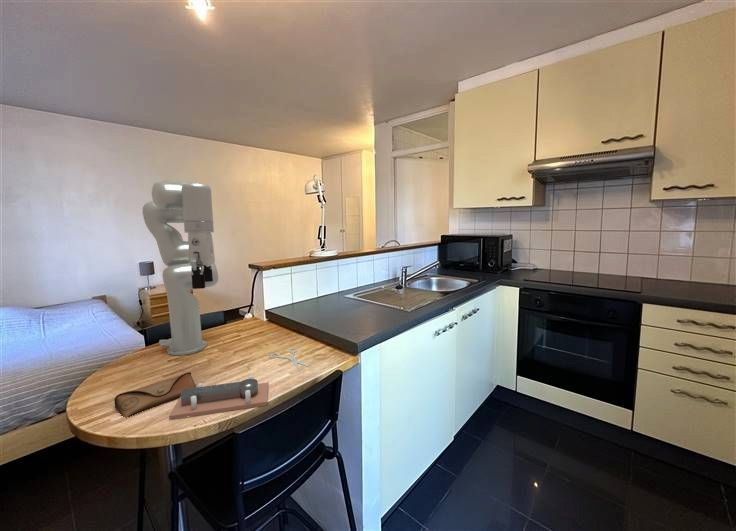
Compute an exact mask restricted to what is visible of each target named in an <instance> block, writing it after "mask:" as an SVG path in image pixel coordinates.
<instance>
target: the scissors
mask: <svg viewBox="0 0 736 531" xmlns="http://www.w3.org/2000/svg"><path fill="white" fill-rule="evenodd" d="M291 349H292V350H294V351H292V350H291ZM289 352H290V354H292V355H291V356H290V357H288V356H287V357H286V356H281V353H272V354H269V353H265V354H264V356H267V355H268V357H269V358H270V357H271V358H270V359H282V360H283V359H286V360H289V361H291V362H292V363H293V364H294V366H295V367H296V368H297V370H299V371H300V372H302V370H301V368H300V366H299V364H300V365H303V366H306V367H308V368H311V366H309V365H307V364H306V363H304V362H302V361H299V360H298V359H296V357H295V353H296V352H298V348H295V347H294V348H293V347H291V348H290V349H288V353H289Z"/></svg>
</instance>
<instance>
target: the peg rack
mask: <svg viewBox="0 0 736 531" xmlns="http://www.w3.org/2000/svg"><path fill="white" fill-rule="evenodd" d="M247 379H254V375H252V374H251V375H248V376H247ZM197 387H204V383H203V382H198V384H197ZM268 395H269V382H261V383H258V394H257V395H256V396H254V397H252V398H251V396H250V390H246V391H245V398H246V399H242V398H235V399H228V400H221V401H214V402H207V403H200V404H197V398H196V396H192V397H191V405H186V406H182V404H181V396H180V398H178V399H177V402H176V403H175V405H174V406H173V409H171V412H170V413H169V416H168V419H172V420H174V419H173V418H179V419H181V418H180V417H186V418H188V417H187V416H192V417H196V416H195V415H199V416H203V415H202V414H206V415H211V414H217V413H219V414H220V413H224V412H231V411H238V410H244V409H251V408H258V407H265V406H268ZM210 413H211V414H210Z"/></svg>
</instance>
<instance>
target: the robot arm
mask: <svg viewBox="0 0 736 531" xmlns="http://www.w3.org/2000/svg"><path fill="white" fill-rule="evenodd" d="M151 197H152V200H151V201H147V202H146V203H144V205H143V206H142V216H143V221H144V224H145V226H146V228H147V229H148V231H149V233H150V234H151V235H152V236H153V237H154V239H155V241H156V245H157V247H158V251H159V255H160V257H161V260H162V262H163V263H164V265H165V266H166V268H164V269H163V271H162V281H163V285H164V288H165V292H166V297H167V298H166V299H167V306H168V313H169V325H170V326H169V327H170V335H171V336H170V337H171V338H168V339H159V341H158V345H159V346H160V348H161V347H168V348H167V350H166V351H167V354H169V355H171V356H187V355H191V354H194V353H198V352H201V351H202V350H204V349H205V348H206V347H207V345H208V343H207V341H206V340H205V339H203V338H202V337H203V336H202V325H201V324H202V322H201V312H200V303H199V299H198V297H196V296H195V294H193V293H192V292H191V290H199V289H202V290H203V289H206V288H210V287H213V286H215V285H217V284H218V281H219V273H218V268H217V266H216V262H215V261H216V260H215V249H214V240H213V234H212V233H214V232H215V228H214V214H213V213H214V212H213V199H212V189H211V187H210V185H207V184H204V183H197V182H189V181H177V180H163V181H156V182H154V183H153V185H152V189H151ZM171 224H183V226H184V227H183V229H184V233H187V238H188V239H187V241H186V240H184V239H183V236H182V234H181V233H180V231H179V230H178V229H176V228H175V227H174V226H172V225H171Z"/></svg>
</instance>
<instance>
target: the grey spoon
mask: <svg viewBox="0 0 736 531" xmlns="http://www.w3.org/2000/svg"><path fill="white" fill-rule="evenodd" d="M258 384H259V383H258V380H257V379H256V378H253V379H249V378H246V379H243V380H241V381H236V382H227V383H220V384H214V385H213V384H212V385H205V386H204V385H203V387H198V386H196V388H189V389H184V390H183V392H182V394H181V404H182V406H186V405H191V397H192V396H196V398H197V404H200V403H207V402H214V401H221V400H228V399H235V398H242V399H246V398H245V391H246V390H250V396H251V398H252V397H254V396H256V395H257V394H258Z"/></svg>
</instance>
